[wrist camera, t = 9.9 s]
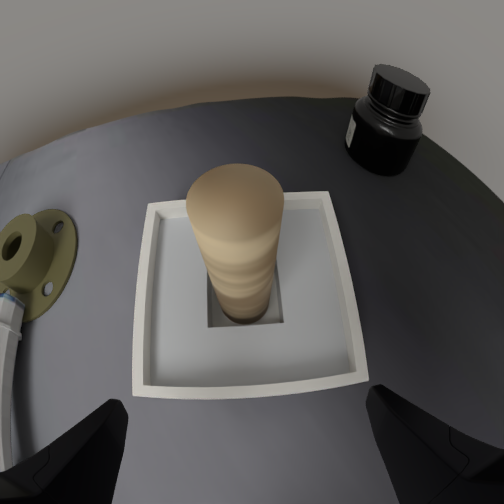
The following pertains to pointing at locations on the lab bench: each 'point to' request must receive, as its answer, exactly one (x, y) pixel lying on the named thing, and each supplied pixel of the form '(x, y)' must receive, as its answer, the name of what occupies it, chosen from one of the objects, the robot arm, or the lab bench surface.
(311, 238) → the box
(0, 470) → the light grey piece
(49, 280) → the flange
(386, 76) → the ink bottle
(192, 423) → the lab bench surface
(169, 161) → the lab bench surface
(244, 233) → the peg
